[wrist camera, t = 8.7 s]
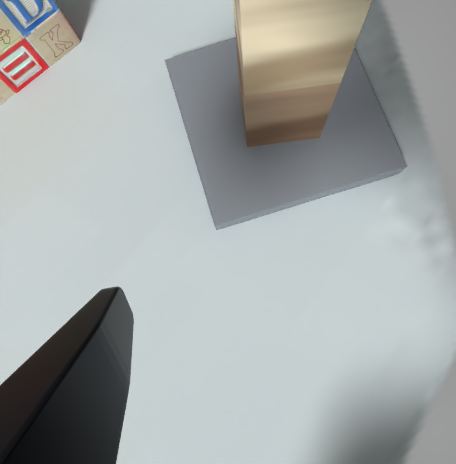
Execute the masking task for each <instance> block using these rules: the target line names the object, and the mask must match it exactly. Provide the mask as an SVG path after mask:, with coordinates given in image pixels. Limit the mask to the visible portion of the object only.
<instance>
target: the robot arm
mask: <svg viewBox="0 0 456 464" xmlns="http://www.w3.org/2000/svg"><path fill="white" fill-rule="evenodd" d="M133 325H134V319H133V313H132V311H131V308H130V306H129V304H128V301H127V299H126V296H125V294H124V292H123V290H122V289H121V288H120V287H111V288H106V289H102V290H101V291H99V292H98V293H97V294H96V295H95V296H94V297H93V298H92V299H91V300H90V301H89V302H88V303H87V304H86V305H85V306H83V307H82V308H81V309H80V310H79V311H78V312H77V313H76V314H75V315H74V316H73V317H72V318H71V319H70V320H69V321H68V322H67V323H66V324H65V325H63V326H62V327H61V328H60V329H59V330H58V331H57V332H56V333H55V334H54V335H53V336H52V337H51V338H50V339H49V340H48V341H47V342H46V343H44V344H43V345H42V346H41V347H40V348H39V349H38V350H37V351H36V352H35V353H34V354H33V355H32V356H31V357H30V358H29V359H28V360H27V361H25V362H24V363H23V364H22V365H21V366H20V367H19V368H18V369H17V370H16V371H15V372H14V373H13V374H12V375H11V376H10V377H9V378H7V379H6V380H5V381H4V382H3V383H2V384H1V385H0V464H116V460H117V454H118V449H119V443H120V437H121V432H122V426H123V420H124V415H125V409H126V403H127V398H128V392H129V385H130V374H131V358H132V341H133Z"/></svg>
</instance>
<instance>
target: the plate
mask: <svg viewBox="0 0 456 464" xmlns="http://www.w3.org/2000/svg"><path fill="white" fill-rule="evenodd" d="M165 62H166V66H167V69H168V72H169V76H170V79H171V82H172V86H173V89H174V92H175V96H176V99H177V102H178V106H179V109H180V112H181V116H182V119H183V122H184V126H185V129H186V132H187V135H188V139H189V142H190V145H191V149H192V152H193V155H194V159H195V162H196V165H197V169H198V172H199V175H200V179H201V182H202V185H203V189H204V192H205V195H206V199H207V202H208V205H209V209H210V212H211V215H212V219H213V222H214V225H215V228H216V230H218V229H222V228H225V227H228V226H231V225H235V224H238V223H241V222H244V221H247V220H251V219H254V218H257V217H260V216H264V215H267V214H270V213H273V212H276V211H280V210H283V209H286V208H289V207H292V206H296V205H299V204H302V203H305V202H309V201H312V200H315V199H318V198H321V197H325V196H328V195H331V194H334V193H338V192H341V191H344V190H347V189H350V188H354V187H357V186H360V185H363V184H367V183H370V182H373V181H376V180H379V179H383V178H386V177H389V176H392V175H396V174H399V173H400V172H401V171H402V170H403V169H404V168H406V167H407V165H406V162H405V160H404V158H403V156H402V153H401V151H400V149H399V147H398V144H397V142H396V140H395V138H394V135H393V133H392V131H391V129H390V126H389V124H388V122H387V120H386V117H385V115H384V113H383V111H382V108H381V106H380V104H379V102H378V100H377V97H376V95H375V93H374V91H373V88H372V86H371V84H370V82H369V79H368V77H367V75H366V73H365V70H364V68H363V66H362V64H361V61H360V59H359V57H358V55H357V52H356V50H355V48H354V49H353V52H352V55H351V57H350V60H349V62H348V65H347V68H346V70H345V73H344V76H343V78H342V81H341V83H340V86H339V89H338V91H337V94H336V96H335V99H334V102H333V104H332V107H331V109H330V112H329V115H328V117H327V120H326V122H325V125H324V128H323V130H322V133H321V136H320V138H313V139H306V140H298V141H290V142H283V143H275V144H268V145H260V146H252V147H247V142H246V134H245V126H244V118H243V110H242V103H241V95H240V87H239V75H238V61H237V47H236V38H233V39H230V40H226V41H223V42H220V43H217V44H214V45H211V46H208V47H204V48H201V49H198V50H195V51H192V52H189V53H185V54H182V55H179V56H176V57H173V58H170V59H166V60H165Z"/></svg>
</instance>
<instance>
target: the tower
mask: <svg viewBox="0 0 456 464" xmlns="http://www.w3.org/2000/svg"><path fill="white" fill-rule="evenodd" d="M371 3H372V0H233V5H234V19H235V33H236V47H237V61H238V75H239V87H240V95H241V103H242V110H243V118H244V126H245V134H246V142H247V147H252V146H260V145H268V144H275V143H283V142H290V141H298V140H306V139H313V138H320V136H321V133H322V130H323V128H324V125H325V122H326V120H327V117H328V115H329V112H330V109H331V107H332V104H333V102H334V99H335V96H336V94H337V91H338V89H339V86H340V83H341V81H342V78H343V76H344V73H345V70H346V68H347V65H348V62H349V60H350V57H351V55H352V52H353V49H354V47H355V44H356V42H357V39H358V36H359V34H360V31H361V29H362V26H363V23H364V21H365V18H366V16H367V13H368V10H369V8H370V5H371Z"/></svg>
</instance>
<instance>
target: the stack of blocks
mask: <svg viewBox="0 0 456 464" xmlns="http://www.w3.org/2000/svg"><path fill="white" fill-rule="evenodd" d="M79 43H80V39H79V38H78V36H77V35H76V33H75V32H74V30H73V29H72V27H71V26H70V24H69V22H68V21H67V19H66V18H65V16H64V15H63V13H62V12H61V10H60V9H59V8H58V6H57V4H56V3H55V1H54V0H0V105H1V104H3V103H4V102H5V101H6V100H8V99H9V98H10V97H11V96H13V95H14V94H15V93H17V92H19V91H20V90H21V89H23V88H24V87H25V86H26V85H28V84H29V83H30V82H31V81H33V80H34V79H35V78H36V77H38V76H39V75H40V74H41V73H43V72H44V71H45V70H46V69H48V68H49V67H50V66H52V65H53V64H54V63H56V62H57V61H58V60H59V59H61V58H62V57H63V56H64V55H66V54H67V53H68V52H69V51H71V50H72V49H73V48H74V47H76V46H77V45H78V44H79Z"/></svg>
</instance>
